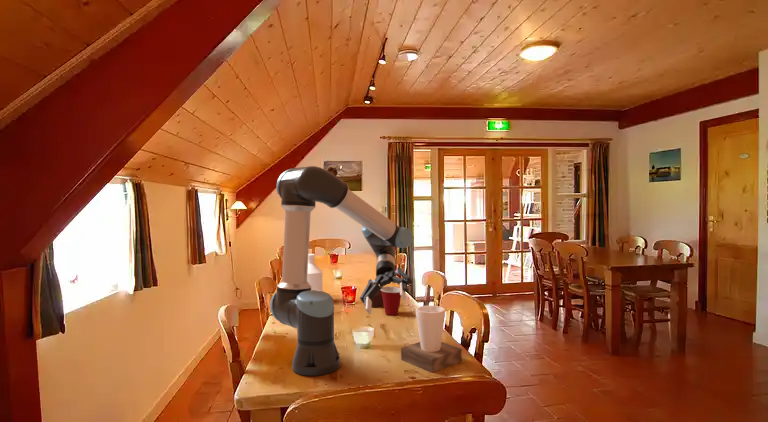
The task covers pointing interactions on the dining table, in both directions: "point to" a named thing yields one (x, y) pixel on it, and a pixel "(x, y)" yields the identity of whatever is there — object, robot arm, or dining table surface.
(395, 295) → the plastic cup
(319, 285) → the bottle
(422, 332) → the foam cup
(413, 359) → the walnut plinth
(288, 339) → the dining table surface
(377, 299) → the muffin
